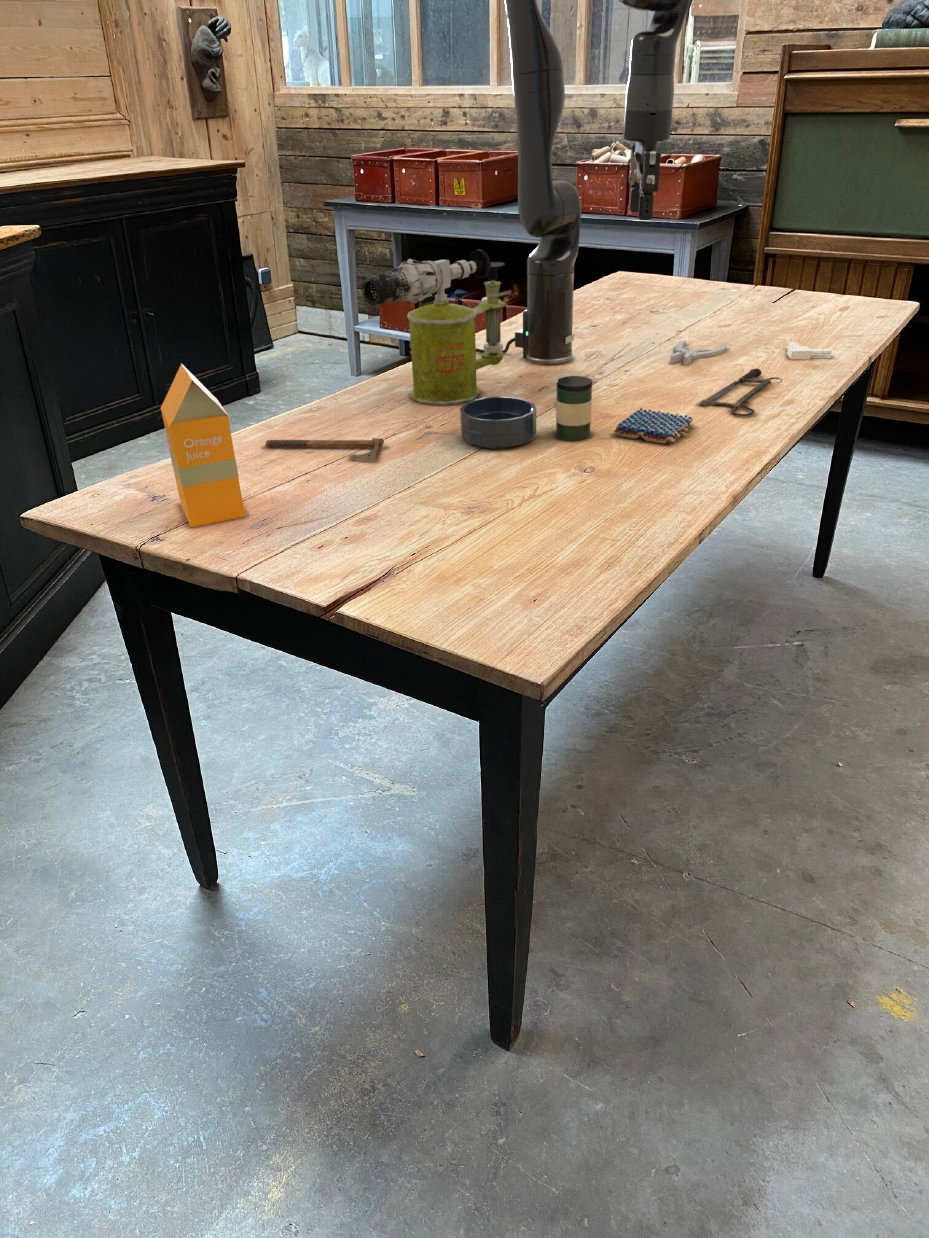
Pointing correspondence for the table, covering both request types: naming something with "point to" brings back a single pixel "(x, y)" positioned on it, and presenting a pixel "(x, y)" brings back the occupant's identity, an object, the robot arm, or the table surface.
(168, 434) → the orange juice
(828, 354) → the corner connector
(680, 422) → the woven mat
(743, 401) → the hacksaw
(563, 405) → the green tin
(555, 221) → the robot arm
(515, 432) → the slate bowl
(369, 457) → the tomahawk
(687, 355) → the pliers
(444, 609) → the table surface
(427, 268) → the blowtorch
